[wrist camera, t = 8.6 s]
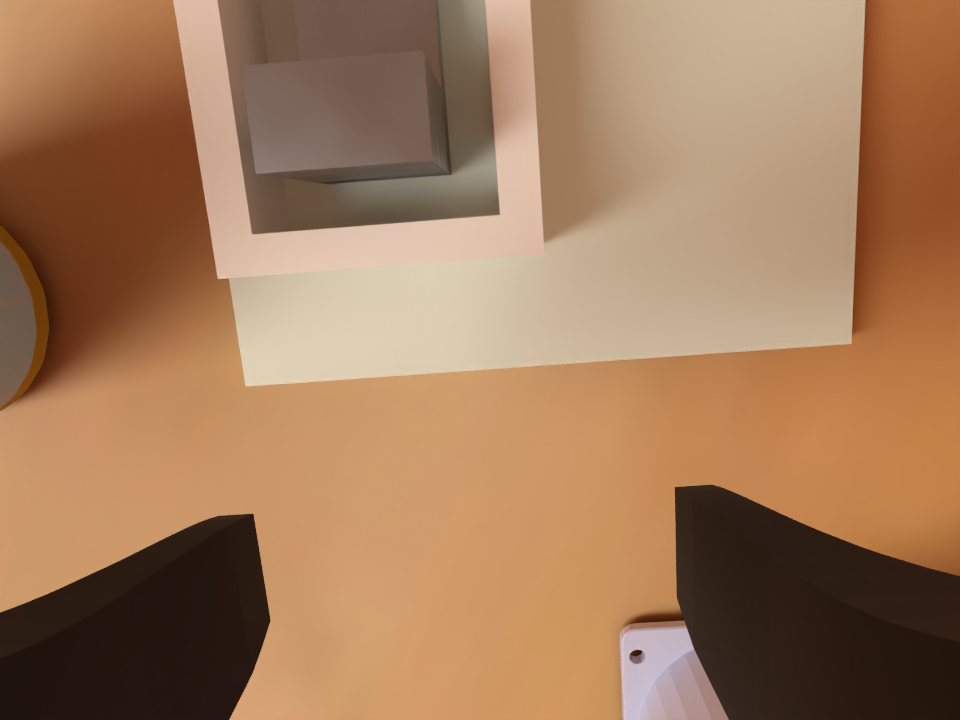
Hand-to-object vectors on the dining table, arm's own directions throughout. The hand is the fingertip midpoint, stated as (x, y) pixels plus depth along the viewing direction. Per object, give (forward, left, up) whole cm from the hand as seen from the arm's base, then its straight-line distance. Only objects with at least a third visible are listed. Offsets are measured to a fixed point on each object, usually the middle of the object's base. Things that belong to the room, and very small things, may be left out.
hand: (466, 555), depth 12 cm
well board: (+8, -2, -10) cm, 13 cm away
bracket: (+9, +2, -9) cm, 13 cm away
